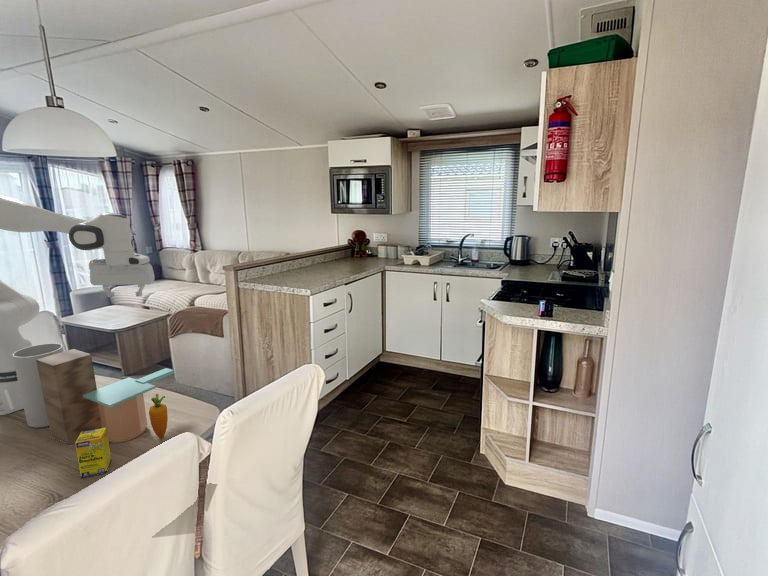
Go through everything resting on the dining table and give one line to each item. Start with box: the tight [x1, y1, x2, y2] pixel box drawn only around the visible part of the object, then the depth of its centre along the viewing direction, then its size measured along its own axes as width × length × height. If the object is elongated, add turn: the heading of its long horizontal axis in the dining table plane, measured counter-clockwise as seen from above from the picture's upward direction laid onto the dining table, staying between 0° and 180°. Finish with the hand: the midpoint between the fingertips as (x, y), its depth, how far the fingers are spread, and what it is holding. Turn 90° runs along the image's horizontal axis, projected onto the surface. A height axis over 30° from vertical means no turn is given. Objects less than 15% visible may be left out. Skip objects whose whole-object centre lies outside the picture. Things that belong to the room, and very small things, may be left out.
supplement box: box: [74, 427, 112, 479], centre depth 108 cm, size 6×6×11 cm
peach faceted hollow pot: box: [98, 393, 148, 444], centre depth 125 cm, size 11×11×14 cm
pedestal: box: [36, 348, 102, 446], centre depth 124 cm, size 10×10×26 cm
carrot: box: [148, 393, 169, 440], centre depth 122 cm, size 5×5×15 cm
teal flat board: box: [83, 367, 175, 408], centre depth 128 cm, size 24×14×1 cm, turn 154°
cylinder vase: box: [13, 342, 65, 429], centre depth 132 cm, size 12×12×25 cm
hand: (125, 296), depth 143 cm, fingers open, 8 cm apart
